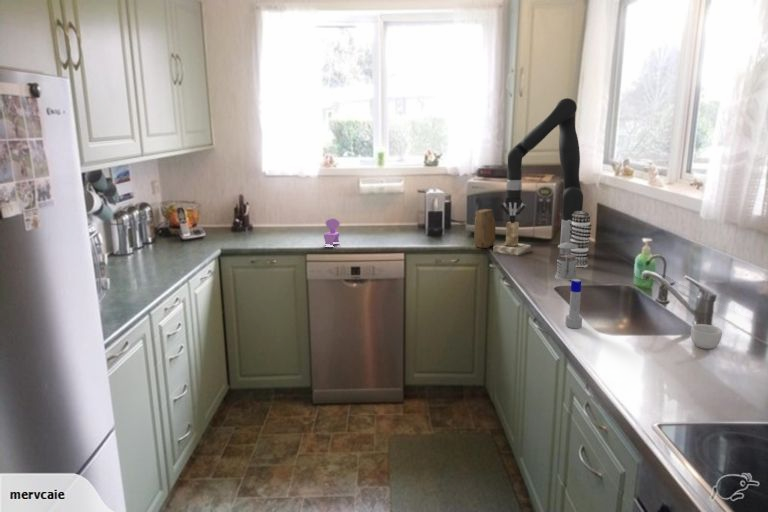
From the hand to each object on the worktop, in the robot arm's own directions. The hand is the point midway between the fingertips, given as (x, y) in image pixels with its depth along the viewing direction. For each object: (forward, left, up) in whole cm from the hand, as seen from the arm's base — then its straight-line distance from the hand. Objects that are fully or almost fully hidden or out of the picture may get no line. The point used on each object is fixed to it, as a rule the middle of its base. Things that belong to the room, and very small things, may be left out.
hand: (512, 222), depth 274 cm
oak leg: (0, 0, -15) cm, 15 cm away
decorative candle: (-38, +6, -15) cm, 41 cm away
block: (+17, -1, -15) cm, 23 cm away
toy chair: (+84, +49, -15) cm, 98 cm away
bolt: (-69, +79, -15) cm, 106 cm away
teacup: (-105, +69, -15) cm, 127 cm away
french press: (-43, +29, -15) cm, 54 cm away
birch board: (0, 0, -15) cm, 15 cm away
